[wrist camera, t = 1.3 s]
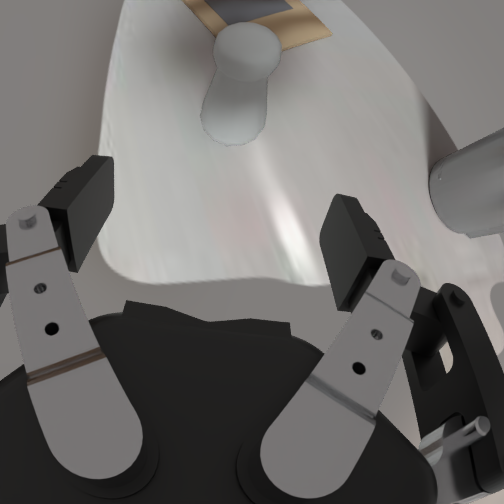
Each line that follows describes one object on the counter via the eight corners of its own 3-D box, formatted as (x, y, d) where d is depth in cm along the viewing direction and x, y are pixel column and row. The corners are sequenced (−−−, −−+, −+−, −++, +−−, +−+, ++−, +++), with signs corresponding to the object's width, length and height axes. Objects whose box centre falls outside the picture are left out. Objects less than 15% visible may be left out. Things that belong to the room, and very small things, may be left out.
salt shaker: (207, 97, 29) (214, 2, 16) (265, 107, 30) (300, 19, 17) (194, 149, 28) (191, 63, 16) (256, 160, 29) (292, 82, 16)
